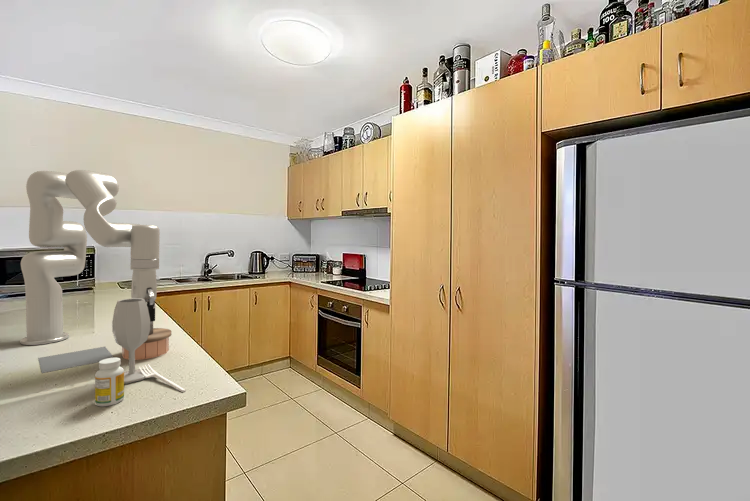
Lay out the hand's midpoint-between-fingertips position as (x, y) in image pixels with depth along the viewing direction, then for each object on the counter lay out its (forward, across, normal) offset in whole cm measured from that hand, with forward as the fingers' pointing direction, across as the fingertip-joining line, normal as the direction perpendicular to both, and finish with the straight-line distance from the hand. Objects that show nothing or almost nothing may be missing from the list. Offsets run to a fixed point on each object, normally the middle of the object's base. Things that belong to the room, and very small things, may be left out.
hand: (144, 318), depth 111 cm
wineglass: (+12, +18, -7) cm, 22 cm away
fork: (+11, +26, -2) cm, 29 cm away
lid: (+6, 0, 0) cm, 6 cm away
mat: (+12, -7, -16) cm, 21 cm away
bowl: (+12, +1, 0) cm, 12 cm away
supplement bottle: (+12, +30, -14) cm, 35 cm away
